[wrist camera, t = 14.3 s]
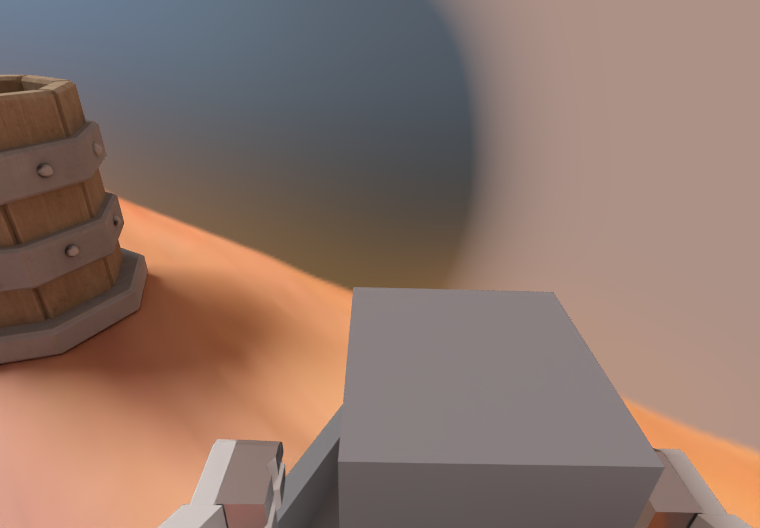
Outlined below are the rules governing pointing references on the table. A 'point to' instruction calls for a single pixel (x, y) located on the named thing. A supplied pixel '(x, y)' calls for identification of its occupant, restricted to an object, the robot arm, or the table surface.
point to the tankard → (57, 225)
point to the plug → (483, 417)
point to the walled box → (314, 483)
